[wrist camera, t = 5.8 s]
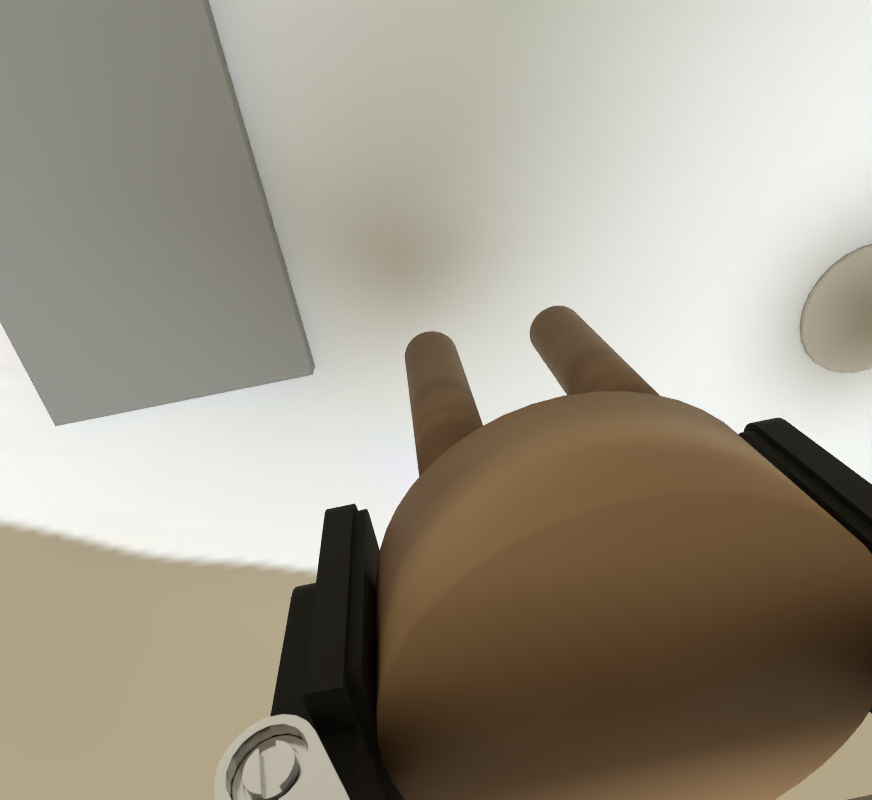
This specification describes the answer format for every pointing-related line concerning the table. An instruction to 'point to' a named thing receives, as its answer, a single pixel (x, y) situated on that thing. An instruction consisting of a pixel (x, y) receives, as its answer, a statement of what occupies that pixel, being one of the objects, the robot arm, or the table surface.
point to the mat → (133, 212)
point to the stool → (608, 597)
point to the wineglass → (841, 315)
